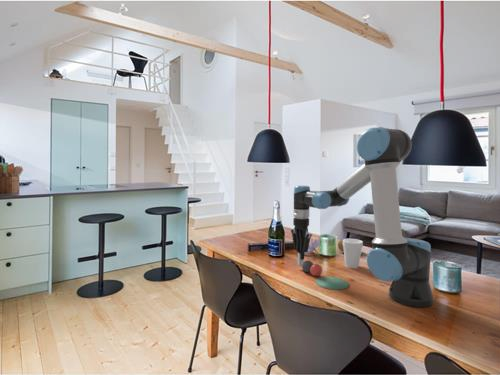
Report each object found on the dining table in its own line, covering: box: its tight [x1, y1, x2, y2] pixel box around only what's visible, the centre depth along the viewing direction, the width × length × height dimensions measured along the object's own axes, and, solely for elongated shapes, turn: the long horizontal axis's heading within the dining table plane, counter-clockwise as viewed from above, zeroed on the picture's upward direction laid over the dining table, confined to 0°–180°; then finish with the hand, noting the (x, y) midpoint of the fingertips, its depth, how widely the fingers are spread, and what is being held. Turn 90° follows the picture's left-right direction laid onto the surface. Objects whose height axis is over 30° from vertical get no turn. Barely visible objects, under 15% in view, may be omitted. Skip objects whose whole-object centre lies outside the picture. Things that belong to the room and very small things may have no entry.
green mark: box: [315, 276, 350, 291], centre depth 133 cm, size 14×14×1 cm
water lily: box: [304, 236, 322, 257], centre depth 174 cm, size 15×15×9 cm
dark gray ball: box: [301, 260, 314, 273], centre depth 146 cm, size 6×6×6 cm
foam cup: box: [342, 238, 364, 269], centre depth 154 cm, size 10×9×13 cm
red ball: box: [309, 263, 323, 277], centre depth 141 cm, size 6×6×6 cm
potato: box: [337, 239, 344, 253], centre depth 179 cm, size 10×14×8 cm
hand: (300, 265), depth 151 cm, fingers closed
